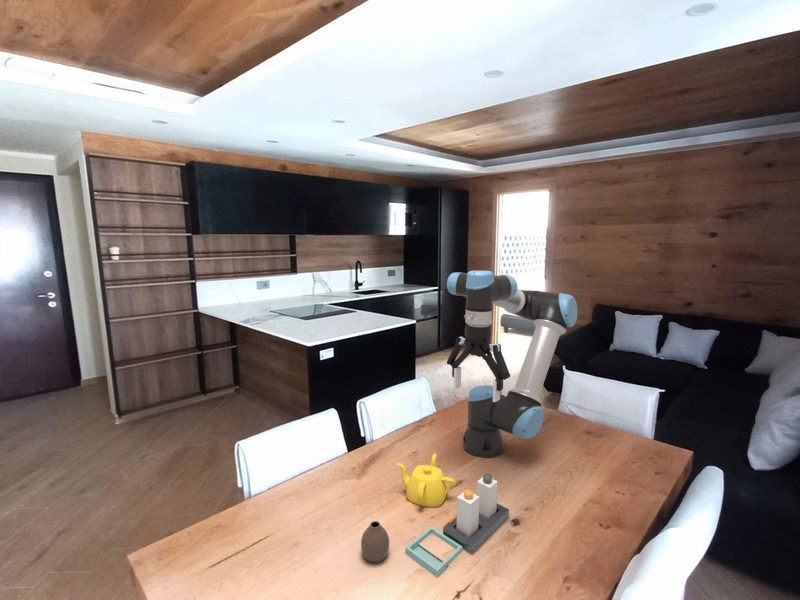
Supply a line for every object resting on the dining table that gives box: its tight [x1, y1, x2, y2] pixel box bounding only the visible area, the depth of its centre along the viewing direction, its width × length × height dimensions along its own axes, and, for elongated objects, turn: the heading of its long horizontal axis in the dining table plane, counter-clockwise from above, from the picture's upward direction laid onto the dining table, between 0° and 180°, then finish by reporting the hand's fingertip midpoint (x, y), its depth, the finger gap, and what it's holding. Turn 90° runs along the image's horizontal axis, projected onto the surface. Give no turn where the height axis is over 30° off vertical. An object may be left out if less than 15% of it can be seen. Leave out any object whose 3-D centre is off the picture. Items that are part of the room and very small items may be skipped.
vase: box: [360, 520, 390, 564], centre depth 95 cm, size 7×7×9 cm
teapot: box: [396, 453, 455, 508], centre depth 117 cm, size 14×13×10 cm
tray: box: [404, 526, 464, 578], centre depth 97 cm, size 10×10×2 cm
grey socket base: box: [442, 502, 510, 556], centre depth 105 cm, size 9×18×4 cm, turn 136°
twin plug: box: [476, 473, 499, 520], centre depth 107 cm, size 4×4×12 cm
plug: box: [456, 488, 479, 538], centre depth 101 cm, size 4×4×12 cm
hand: (476, 394), depth 116 cm, fingers open, 13 cm apart
